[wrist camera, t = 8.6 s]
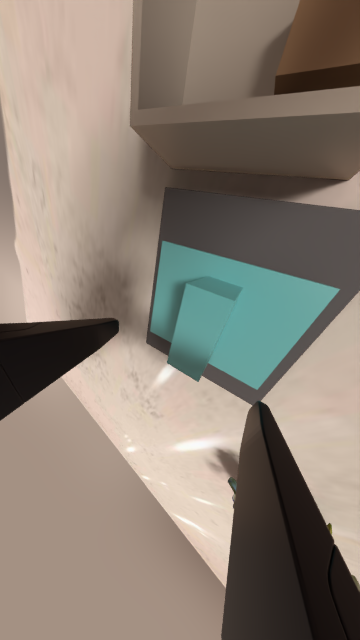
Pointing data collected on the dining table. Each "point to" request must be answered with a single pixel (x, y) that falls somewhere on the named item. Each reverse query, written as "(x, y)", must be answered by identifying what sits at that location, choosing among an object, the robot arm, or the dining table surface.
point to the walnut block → (321, 48)
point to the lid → (230, 313)
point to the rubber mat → (266, 256)
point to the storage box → (234, 93)
